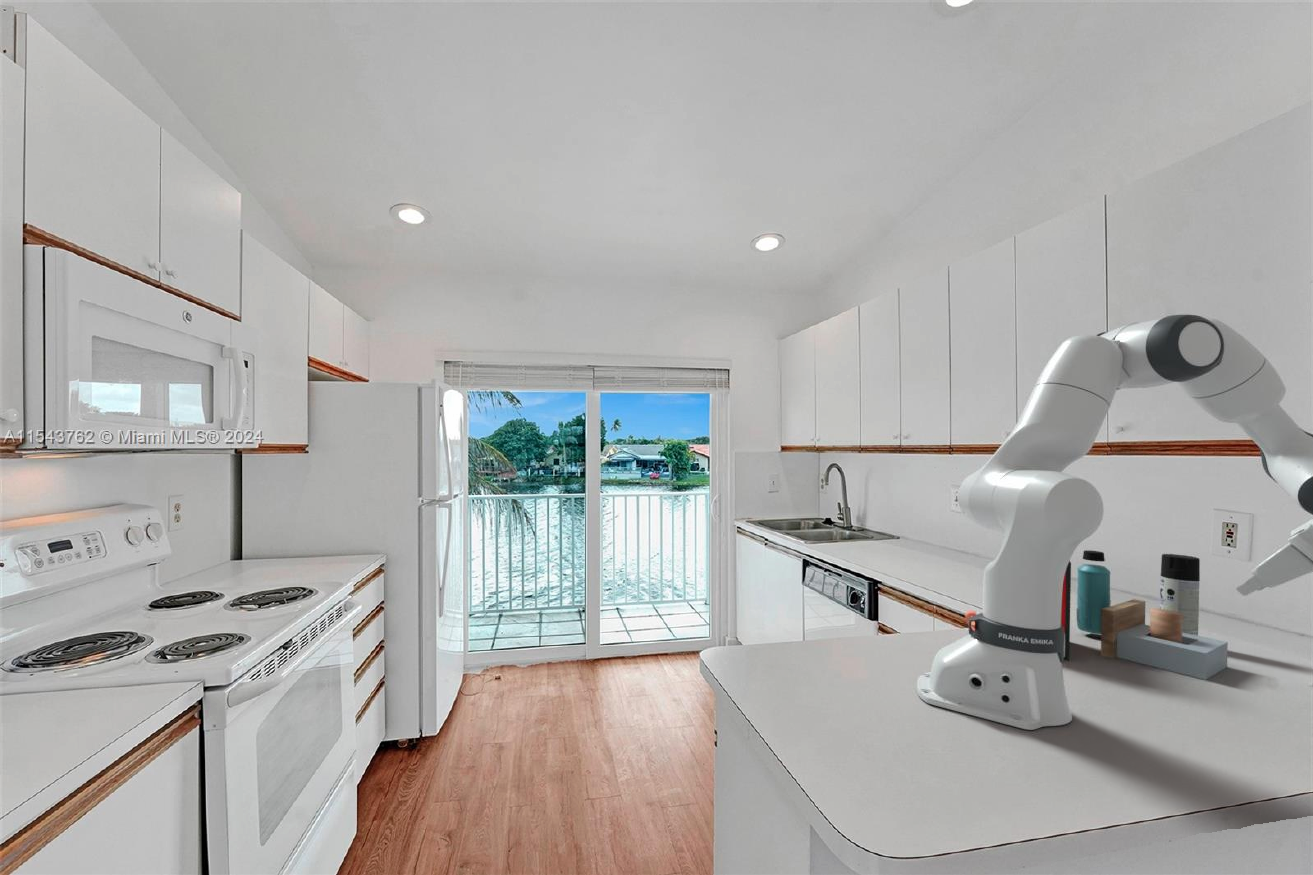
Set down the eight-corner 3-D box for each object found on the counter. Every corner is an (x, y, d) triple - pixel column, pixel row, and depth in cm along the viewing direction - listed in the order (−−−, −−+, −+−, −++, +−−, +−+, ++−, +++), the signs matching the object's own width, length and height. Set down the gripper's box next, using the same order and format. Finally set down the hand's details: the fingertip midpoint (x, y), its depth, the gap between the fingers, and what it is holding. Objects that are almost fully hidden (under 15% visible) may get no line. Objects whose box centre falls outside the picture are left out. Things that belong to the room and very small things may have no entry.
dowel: (1154, 657, 121) (1154, 613, 121) (1146, 650, 126) (1147, 607, 126) (1185, 661, 119) (1186, 616, 119) (1176, 654, 124) (1177, 611, 124)
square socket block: (1227, 667, 120) (1227, 642, 120) (1205, 680, 112) (1205, 653, 112) (1141, 646, 131) (1142, 623, 132) (1116, 657, 124) (1116, 633, 124)
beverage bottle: (1116, 642, 135) (1118, 554, 135) (1084, 639, 136) (1085, 552, 136) (1101, 633, 141) (1102, 549, 142) (1070, 631, 142) (1071, 547, 143)
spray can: (1161, 637, 140) (1162, 552, 140) (1200, 644, 135) (1201, 556, 135) (1157, 642, 135) (1158, 555, 136) (1196, 650, 130) (1198, 559, 131)
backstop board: (1144, 646, 133) (1145, 601, 133) (1112, 659, 123) (1113, 611, 123) (1133, 643, 134) (1134, 599, 134) (1100, 656, 124) (1101, 608, 124)
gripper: (1318, 529, 112) (1246, 571, 120) (1294, 534, 101) (1215, 580, 109) (1354, 557, 108) (1277, 598, 116) (1333, 565, 97) (1249, 610, 105)
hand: (1247, 589), depth 112 cm, fingers open, 8 cm apart
